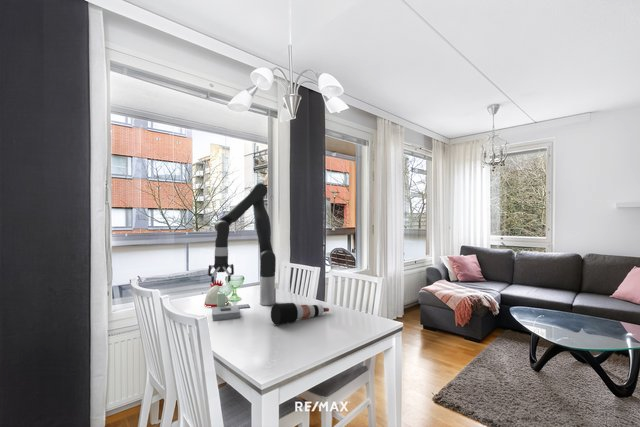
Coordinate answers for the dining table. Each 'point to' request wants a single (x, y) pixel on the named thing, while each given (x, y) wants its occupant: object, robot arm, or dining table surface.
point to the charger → (220, 299)
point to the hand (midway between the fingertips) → (220, 282)
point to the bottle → (294, 312)
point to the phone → (243, 306)
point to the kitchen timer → (213, 295)
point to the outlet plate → (225, 312)
